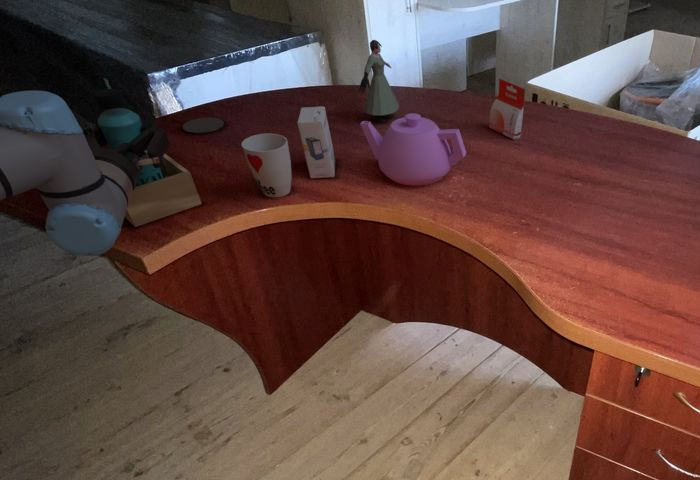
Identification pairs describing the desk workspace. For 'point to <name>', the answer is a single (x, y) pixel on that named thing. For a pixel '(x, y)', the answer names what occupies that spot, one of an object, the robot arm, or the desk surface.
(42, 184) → the robot arm
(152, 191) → the crate
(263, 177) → the cup
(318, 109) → the ink box
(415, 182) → the teapot
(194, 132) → the coaster
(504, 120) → the ink box
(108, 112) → the beverage bottle
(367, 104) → the character figurine
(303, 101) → the desk surface
